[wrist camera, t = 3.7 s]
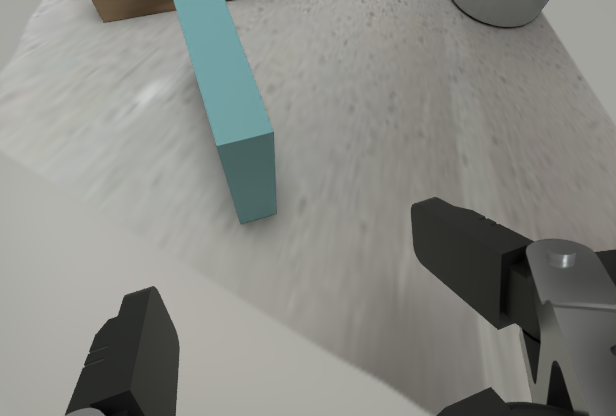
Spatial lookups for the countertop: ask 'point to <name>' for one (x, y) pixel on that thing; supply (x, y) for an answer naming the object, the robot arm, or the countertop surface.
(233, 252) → the countertop surface
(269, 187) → the teal l-shaped piece
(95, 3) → the u-shaped wooden block
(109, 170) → the countertop surface
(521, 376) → the countertop surface
